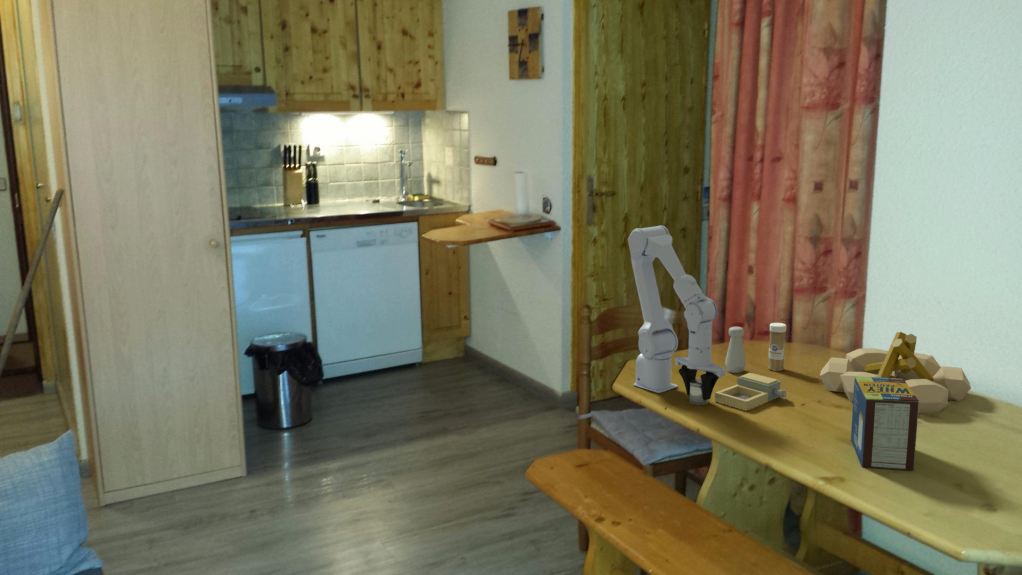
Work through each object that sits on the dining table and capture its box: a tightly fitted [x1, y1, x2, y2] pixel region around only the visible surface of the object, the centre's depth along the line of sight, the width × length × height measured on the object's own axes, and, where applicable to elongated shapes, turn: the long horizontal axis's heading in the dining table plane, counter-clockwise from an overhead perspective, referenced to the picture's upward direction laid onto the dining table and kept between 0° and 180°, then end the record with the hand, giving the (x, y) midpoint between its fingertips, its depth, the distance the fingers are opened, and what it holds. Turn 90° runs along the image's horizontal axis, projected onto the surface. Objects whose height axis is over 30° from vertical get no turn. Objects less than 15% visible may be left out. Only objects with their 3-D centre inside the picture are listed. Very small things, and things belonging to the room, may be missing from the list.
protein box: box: [850, 376, 919, 471], centre depth 185 cm, size 10×15×16 cm
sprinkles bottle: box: [767, 322, 787, 372], centre depth 246 cm, size 5×5×14 cm
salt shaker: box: [724, 326, 747, 374], centre depth 245 cm, size 6×6×13 cm
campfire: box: [819, 331, 972, 414], centre depth 224 cm, size 35×34×17 cm
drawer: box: [714, 372, 787, 412], centre depth 221 cm, size 12×15×5 cm
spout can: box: [688, 378, 709, 406], centre depth 221 cm, size 5×5×6 cm
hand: (698, 396), depth 221 cm, fingers closed on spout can, 5 cm apart
